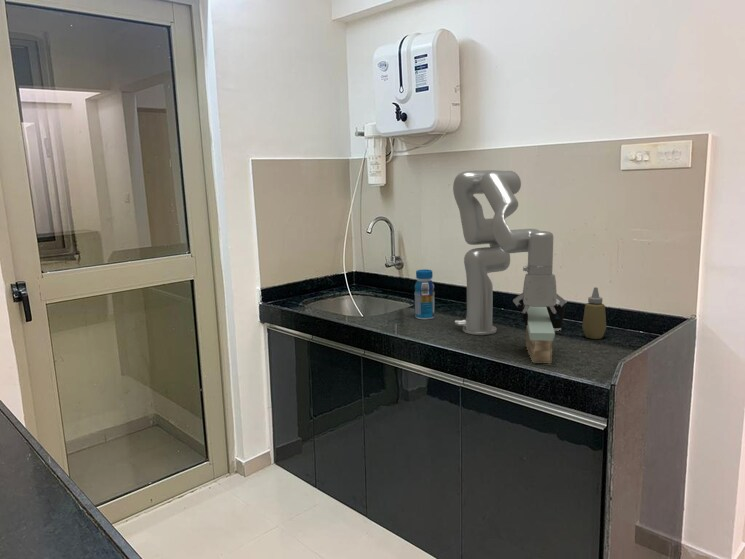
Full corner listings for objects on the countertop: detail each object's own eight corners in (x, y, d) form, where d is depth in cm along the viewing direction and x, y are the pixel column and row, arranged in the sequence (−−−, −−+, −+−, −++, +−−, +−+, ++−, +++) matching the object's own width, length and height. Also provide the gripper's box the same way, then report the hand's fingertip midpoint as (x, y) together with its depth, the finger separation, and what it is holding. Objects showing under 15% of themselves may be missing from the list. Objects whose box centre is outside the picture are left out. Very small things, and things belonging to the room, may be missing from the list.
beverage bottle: (410, 318, 236) (409, 271, 232) (422, 314, 242) (421, 268, 239) (427, 321, 230) (426, 272, 227) (438, 316, 237) (438, 269, 233)
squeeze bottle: (577, 334, 205) (579, 286, 202) (599, 333, 206) (601, 285, 202) (588, 340, 197) (590, 290, 194) (610, 339, 198) (612, 289, 194)
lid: (530, 340, 173) (530, 332, 172) (523, 313, 192) (524, 306, 191) (554, 340, 172) (554, 333, 171) (545, 313, 190) (546, 306, 189)
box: (532, 363, 175) (532, 338, 173) (525, 346, 193) (526, 323, 191) (551, 364, 174) (552, 339, 172) (543, 346, 192) (543, 323, 190)
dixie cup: (551, 333, 208) (552, 304, 206) (539, 327, 215) (540, 299, 213) (569, 330, 210) (571, 302, 208) (557, 325, 218) (558, 297, 216)
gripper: (512, 272, 176) (511, 327, 179) (570, 272, 173) (568, 328, 176) (510, 268, 183) (509, 321, 187) (566, 268, 181) (564, 322, 184)
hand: (538, 324), depth 181 cm, fingers closed on lid, 7 cm apart
